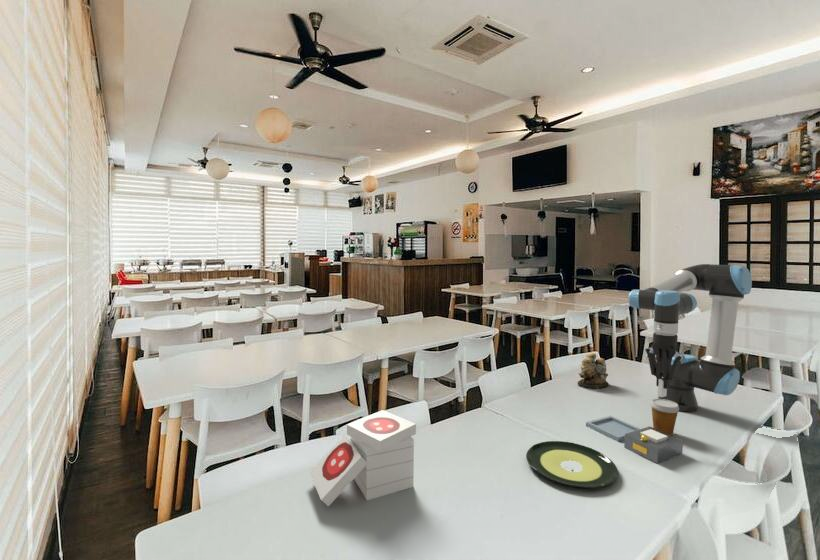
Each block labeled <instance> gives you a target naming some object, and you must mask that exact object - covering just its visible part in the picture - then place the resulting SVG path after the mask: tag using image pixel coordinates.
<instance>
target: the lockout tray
mask: <svg viewBox="0 0 820 560" xmlns="http://www.w3.org/2000/svg"><path fill="white" fill-rule="evenodd" d="M585 426H586V427H588V428H589V427H590V429H592V430H594V431H596V432H598V433H599V434H602V435H603V436H606V437H608V438H610V439H612V440H613V441H616V442H620V441H625V434H626V433H630V432H633V431H636V430H640V429H641V428H640V427H638V426H635V425H633V424H630V423H628V422H626V421H624V420H621V419H619V418H617V417H614V416H613V415H607V416H603V417H600V418H597V419H592V420H588V421H585Z"/></svg>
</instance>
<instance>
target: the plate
mask: <svg viewBox="0 0 820 560" xmlns="http://www.w3.org/2000/svg"><path fill="white" fill-rule="evenodd" d="M525 456H526V461H527V463H528V465H529V466H530V467H531V468H532V470H534V471H536V473H538V474H539V475H541V476H543V477H544V478H546V479H548V480H550V481H552V482H556V483H558V484H561V485H565V486H569V487H574V488H584V489H586V488H587V489H596V488H604V487H607V486H610V485H612V484H614V483H615V482H616V481H617V479H618V477H619V470H618V468H617V466H616V464H615V462H613V461H612V459H610V458H609V457H608V456H606V455H605V454H604V453H603V452H600V451H598V450H597V449H595V448H591V447H588V446H585V445H582V444H578V443H576V442H569V441H561V440H560V441H559V440H551V441H542V442H538V443H536V444H533V445H532V446H531V447H529V449H528V450H527V452H526V455H525ZM569 460H571V461H576V462H579V463H580V464H581V465H582V466H583V467H582V468H583V469H582V471H580V472H570V471H567V470H565V469H564V468H562V467H561V465H560V464H561V462H563V461H569Z"/></svg>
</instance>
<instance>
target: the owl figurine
mask: <svg viewBox="0 0 820 560" xmlns="http://www.w3.org/2000/svg"><path fill="white" fill-rule="evenodd" d="M580 369H581V372H578V375H579V376H580V378H581V379H579V380H578V381H577V385H578V386H579V387H582V388H584V389H588V390H596V389H597V390H602V388H603V389H606V388H607V387H609V385H610V384H609V382H608V381H607V378H608V376H609V374H608V373H607V364H606V360H605V358H602V357H599V358H597V354H596V353H594V352H588V353H587V354H586V355H585V356H584V358H582V360H581V365H580Z"/></svg>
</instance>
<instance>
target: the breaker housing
mask: <svg viewBox="0 0 820 560" xmlns="http://www.w3.org/2000/svg"><path fill="white" fill-rule="evenodd" d="M650 429H652V430H654V431H657V432H659V433H661V434H664V435H666V436H668V439H667V440H665V441H662V442H659V443H655V442H653V441H651V440H649V439H648V437H647V436H645V435H642V436H640V432H643V431H646V430H650ZM683 446H684V440H683V439H681V438H678V437H676V436H673V435H672V436H671V435H669V434H667V433H664V432H662V431H660V430H657V429H655V428H653V426H646V427H643V428H640V430H636V431H633V432H630V433H626V434H625V440H624V446H623V448H624V449H627V450H629V451H631V452H632V453H635V454H637V455H639V456H640V457H643V458H645V459H647V460H649V461H651V462H652V463H653V462H654V463H655V464H660V463H663V462H665V461H668V460H670V459H673V458H676V457H679V456H681V455H683V450H684V449H683Z"/></svg>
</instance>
